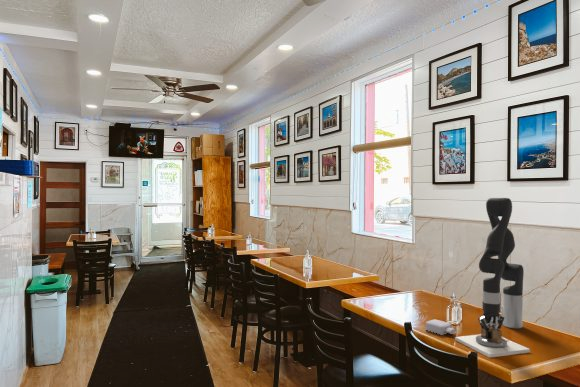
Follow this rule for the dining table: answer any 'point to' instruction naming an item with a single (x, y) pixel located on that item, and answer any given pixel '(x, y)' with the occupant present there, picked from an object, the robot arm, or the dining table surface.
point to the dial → (492, 339)
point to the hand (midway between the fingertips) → (491, 338)
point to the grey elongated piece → (439, 327)
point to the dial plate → (490, 351)
